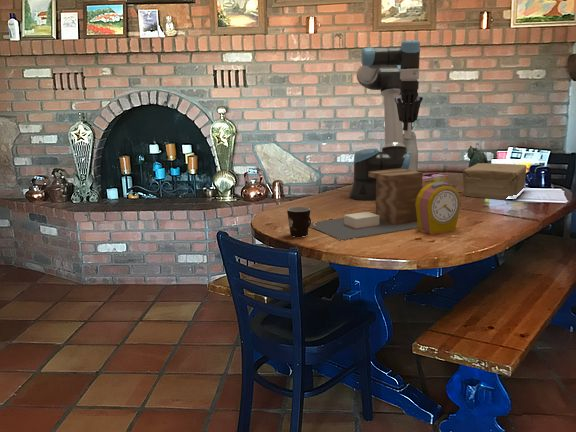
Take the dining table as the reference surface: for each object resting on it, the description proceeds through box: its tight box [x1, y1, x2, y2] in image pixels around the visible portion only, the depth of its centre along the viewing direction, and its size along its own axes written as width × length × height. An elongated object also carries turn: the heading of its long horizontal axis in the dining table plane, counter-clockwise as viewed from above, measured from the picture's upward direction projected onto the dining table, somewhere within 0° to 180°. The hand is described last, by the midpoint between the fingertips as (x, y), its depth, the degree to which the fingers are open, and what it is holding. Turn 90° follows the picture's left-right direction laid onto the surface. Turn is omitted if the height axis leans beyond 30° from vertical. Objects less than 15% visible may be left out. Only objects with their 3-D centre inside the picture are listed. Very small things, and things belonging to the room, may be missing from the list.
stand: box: [368, 168, 424, 225], centre depth 228 cm, size 14×16×20 cm
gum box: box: [422, 172, 449, 188], centre depth 256 cm, size 24×8×14 cm, turn 127°
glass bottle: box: [403, 130, 419, 172], centre depth 318 cm, size 10×10×28 cm
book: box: [343, 211, 379, 229], centre depth 222 cm, size 8×11×4 cm
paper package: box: [462, 163, 527, 201], centre depth 279 cm, size 27×26×14 cm
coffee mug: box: [286, 206, 312, 238], centre depth 208 cm, size 12×9×10 cm
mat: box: [310, 212, 418, 241], centre depth 225 cm, size 28×44×1 cm, turn 117°
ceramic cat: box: [466, 142, 489, 168], centre depth 323 cm, size 20×6×20 cm, turn 6°
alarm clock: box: [415, 182, 462, 235], centre depth 213 cm, size 15×8×18 cm, turn 114°
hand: (407, 138), depth 237 cm, fingers closed
